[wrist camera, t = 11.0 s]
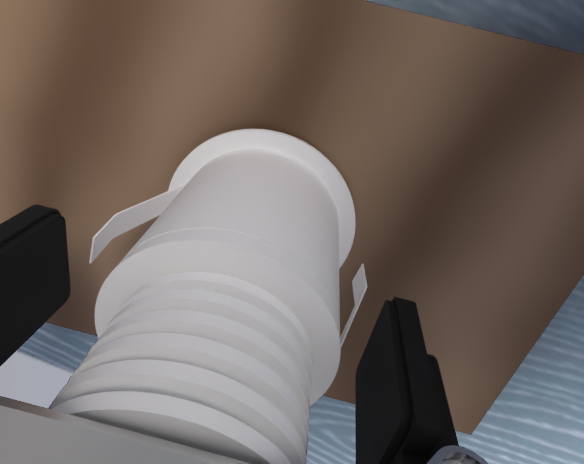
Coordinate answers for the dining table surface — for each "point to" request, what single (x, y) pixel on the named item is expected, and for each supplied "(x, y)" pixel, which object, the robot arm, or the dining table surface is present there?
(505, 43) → the walnut board
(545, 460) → the dining table surface
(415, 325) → the robot arm
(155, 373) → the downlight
